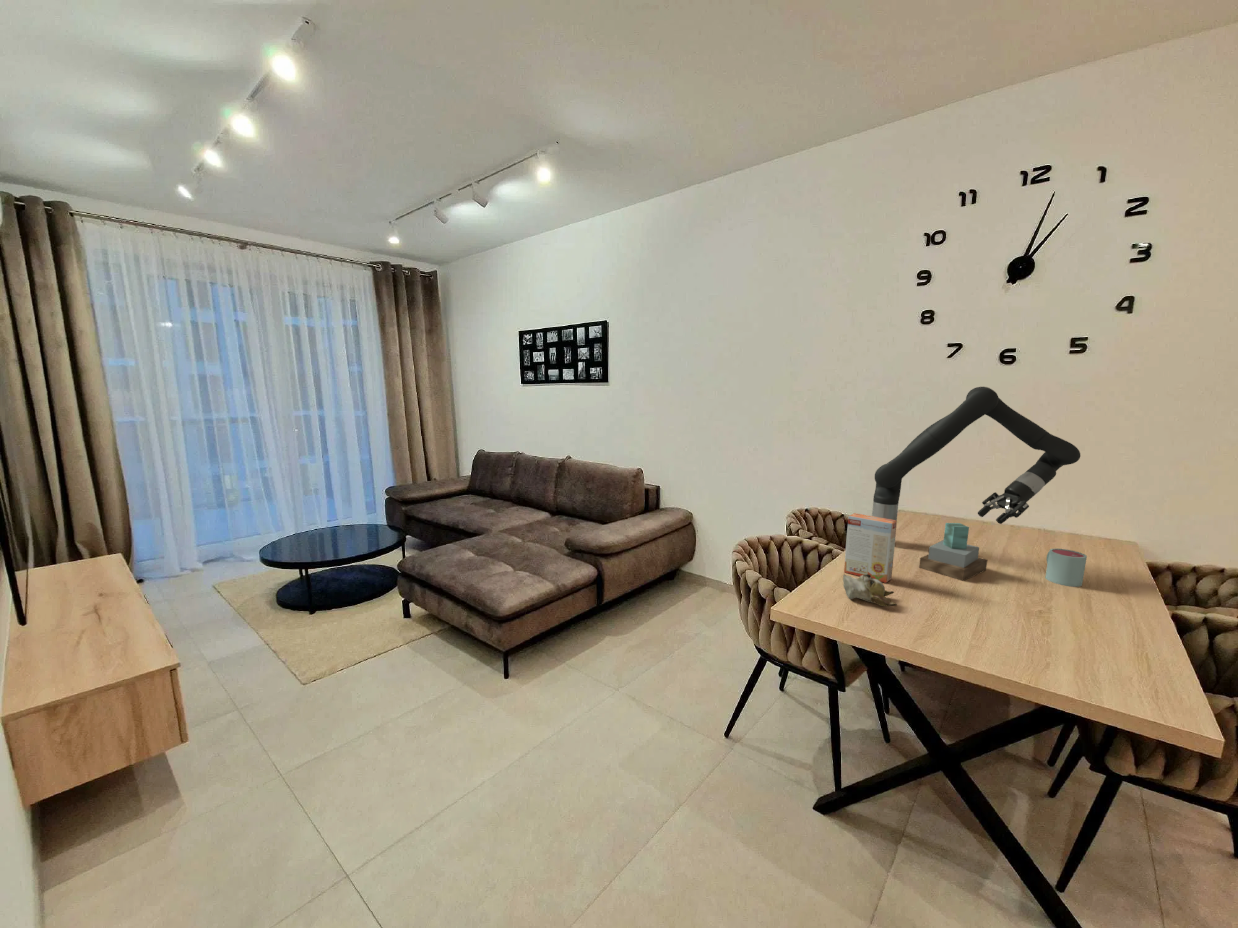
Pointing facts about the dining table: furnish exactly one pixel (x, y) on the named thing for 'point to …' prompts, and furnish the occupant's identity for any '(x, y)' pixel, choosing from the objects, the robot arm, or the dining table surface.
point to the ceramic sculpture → (867, 590)
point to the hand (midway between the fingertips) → (988, 518)
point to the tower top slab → (953, 554)
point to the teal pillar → (956, 535)
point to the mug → (1065, 567)
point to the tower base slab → (953, 568)
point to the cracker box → (870, 546)
